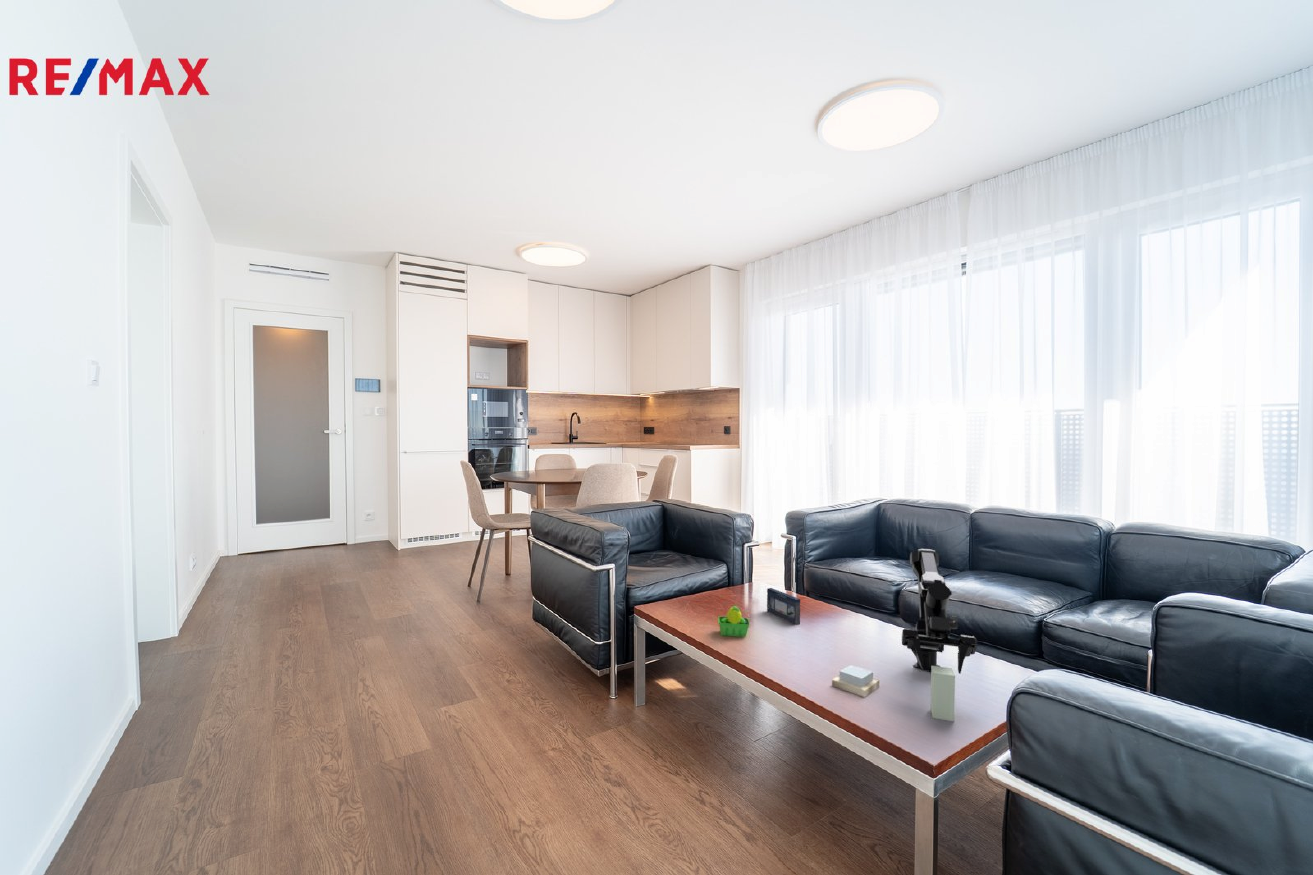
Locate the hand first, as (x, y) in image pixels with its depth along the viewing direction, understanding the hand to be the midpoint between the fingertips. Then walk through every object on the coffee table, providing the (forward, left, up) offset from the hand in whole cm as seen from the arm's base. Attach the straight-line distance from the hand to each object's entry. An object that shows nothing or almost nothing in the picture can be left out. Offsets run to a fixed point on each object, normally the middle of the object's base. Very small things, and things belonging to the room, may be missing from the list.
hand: (940, 670), depth 152 cm
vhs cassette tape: (-36, -72, -11) cm, 81 cm away
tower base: (+3, -23, -11) cm, 25 cm away
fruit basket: (-5, -74, -11) cm, 75 cm away
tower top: (+3, -22, -9) cm, 24 cm away
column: (+3, +1, -11) cm, 11 cm away
